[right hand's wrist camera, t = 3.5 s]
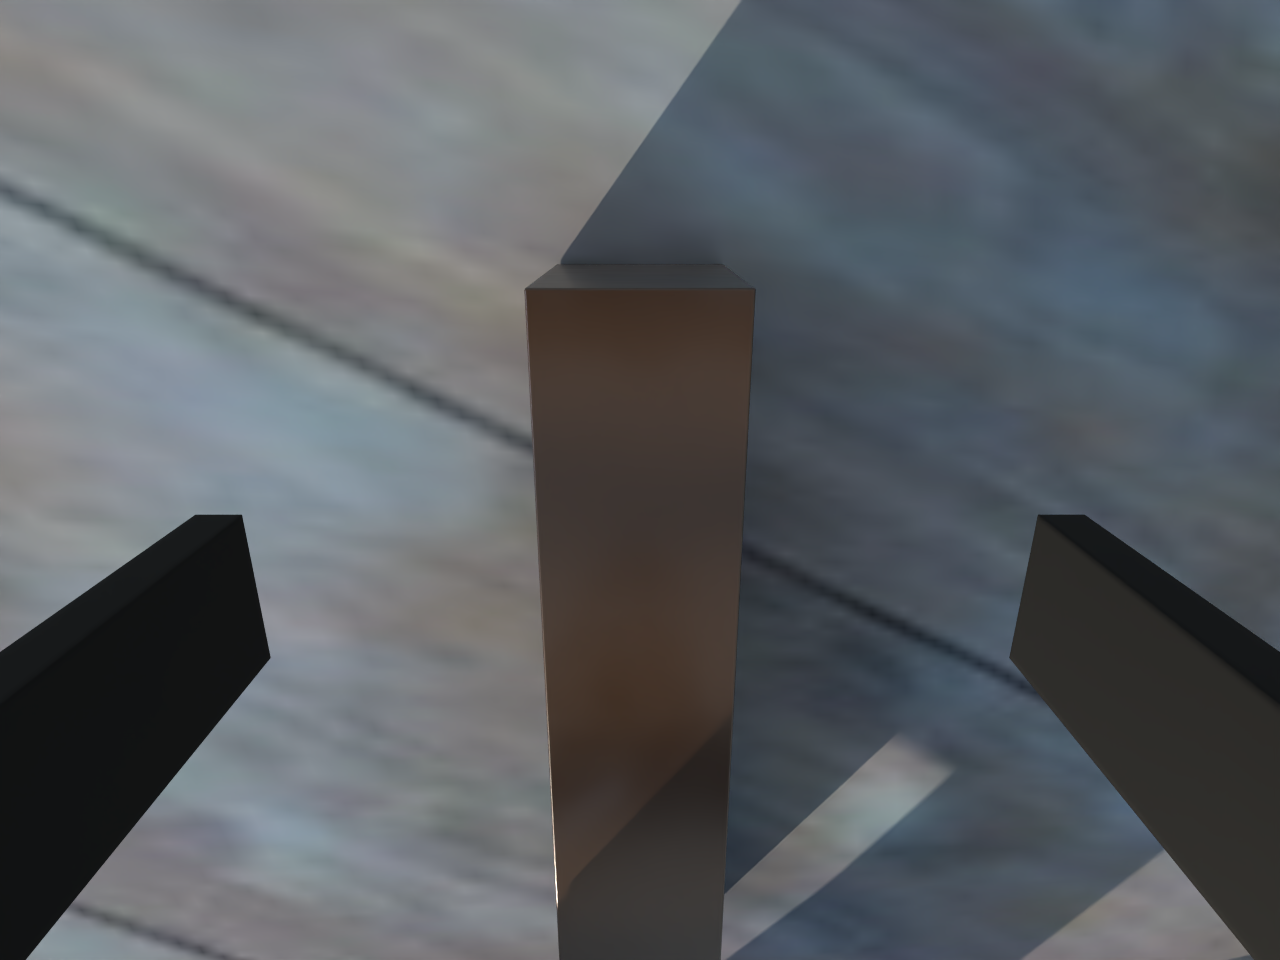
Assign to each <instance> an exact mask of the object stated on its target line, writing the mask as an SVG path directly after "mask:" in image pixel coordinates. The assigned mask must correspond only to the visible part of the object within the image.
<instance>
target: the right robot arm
mask: <svg viewBox="0 0 1280 960" xmlns="http://www.w3.org/2000/svg"><path fill="white" fill-rule="evenodd" d="M269 659H270V653H269V648H268V643H267V638H266V633H265V628H264V623H263V618H262V613H261V608H260V603H259V598H258V593H257V588H256V583H255V578H254V573H253V568H252V563H251V558H250V553H249V548H248V543H247V538H246V533H245V528H244V523H243V518H242V515H194V516H193V517H192V518H190V519H189V520H187V521H186V522H185V523H183V524H182V525H180V526H179V527H177V528H176V529H175V530H173V531H172V532H170V533H169V534H167V535H166V536H165V537H163V538H162V539H160V540H159V541H157V542H156V543H155V544H153V545H152V546H150V547H149V548H148V549H146V550H145V551H143V552H142V553H140V554H139V555H138V556H136V557H135V558H133V559H132V560H130V561H129V562H128V563H126V564H125V565H123V566H122V567H120V568H119V569H118V570H116V571H115V572H113V573H112V574H111V575H109V576H108V577H106V578H105V579H103V580H102V581H101V582H99V583H98V584H96V585H95V586H93V587H92V588H91V589H89V590H88V591H86V592H85V593H83V594H82V595H81V596H79V597H78V598H76V599H75V600H74V601H72V602H71V603H69V604H68V605H66V606H65V607H64V608H62V609H61V610H59V611H58V612H56V613H55V614H54V615H52V616H51V617H49V618H48V619H47V620H45V621H44V622H42V623H41V624H39V625H38V626H37V627H35V628H34V629H32V630H31V631H29V632H28V633H27V634H25V635H24V636H22V637H21V638H19V639H18V640H17V641H15V642H14V643H12V644H11V645H10V646H8V647H7V648H5V649H4V650H2V651H1V652H0V960H26V959H27V957H28V956H29V955H30V954H31V953H32V951H33V950H34V949H35V948H36V946H37V945H38V944H39V943H40V941H41V940H42V939H43V938H44V937H45V935H46V934H47V933H48V932H49V930H50V929H51V928H52V927H53V925H54V924H55V923H56V922H57V921H58V919H59V918H60V917H61V916H62V914H63V913H64V912H65V911H66V909H67V908H68V907H69V906H70V904H71V903H72V902H73V901H74V900H75V898H76V897H77V896H78V895H79V893H80V892H81V891H82V890H83V888H84V887H85V886H86V885H87V884H88V882H89V881H90V880H91V879H92V877H93V876H94V875H95V874H96V872H97V871H98V870H99V869H100V867H101V866H102V865H103V864H104V863H105V861H106V860H107V859H108V858H109V856H110V855H111V854H112V853H113V851H114V850H115V849H116V848H117V847H118V845H119V844H120V843H121V842H122V840H123V839H124V838H125V837H126V835H127V834H128V833H129V832H130V831H131V829H132V828H133V827H134V826H135V824H136V823H137V822H138V821H139V819H140V818H141V817H142V816H143V814H144V813H145V812H146V811H147V810H148V808H149V807H150V806H151V805H152V803H153V802H154V801H155V800H156V798H157V797H158V796H159V795H160V794H161V792H162V791H163V790H164V789H165V787H166V786H167V785H168V784H169V782H170V781H171V780H172V779H173V777H174V776H175V775H176V774H177V773H178V771H179V770H180V769H181V768H182V766H183V765H184V764H185V763H186V761H187V760H188V759H189V758H190V757H191V755H192V754H193V753H194V752H195V750H196V749H197V748H198V747H199V745H200V744H201V743H202V742H203V741H204V739H205V738H206V737H207V736H208V734H209V733H210V732H211V731H212V729H213V728H214V727H215V726H216V724H217V723H218V722H219V721H220V720H221V718H222V717H223V716H224V715H225V713H226V712H227V711H228V710H229V708H230V707H231V706H232V705H233V704H234V702H235V701H236V700H237V699H238V697H239V696H240V695H241V694H242V692H243V691H244V690H245V689H246V687H247V686H248V685H249V684H250V683H251V681H252V680H253V679H254V678H255V676H256V675H257V674H258V673H259V671H260V670H261V669H262V668H263V667H264V665H265V664H266V663H267V662H268V660H269ZM1010 659H1011V660H1012V662H1013V663H1014V664H1015V665H1016V667H1017V668H1018V669H1019V670H1020V671H1021V673H1022V674H1023V675H1024V676H1025V678H1026V679H1027V680H1028V681H1029V683H1030V684H1031V685H1032V686H1033V688H1034V689H1035V690H1036V691H1037V692H1038V694H1039V695H1040V696H1041V697H1042V699H1043V700H1044V701H1045V702H1046V704H1047V705H1048V706H1049V707H1050V708H1051V710H1052V711H1053V712H1054V713H1055V715H1056V716H1057V717H1058V718H1059V720H1060V721H1061V722H1062V723H1063V724H1064V726H1065V727H1066V728H1067V729H1068V731H1069V732H1070V733H1071V734H1072V736H1073V737H1074V738H1075V739H1076V741H1077V742H1078V743H1079V744H1080V745H1081V747H1082V748H1083V749H1084V750H1085V752H1086V753H1087V754H1088V755H1089V757H1090V758H1091V759H1092V760H1093V761H1094V763H1095V764H1096V765H1097V766H1098V768H1099V769H1100V770H1101V771H1102V773H1103V774H1104V775H1105V776H1106V777H1107V779H1108V780H1109V781H1110V782H1111V784H1112V785H1113V786H1114V787H1115V789H1116V790H1117V791H1118V792H1119V794H1120V795H1121V796H1122V797H1123V798H1124V800H1125V801H1126V802H1127V803H1128V805H1129V806H1130V807H1131V808H1132V810H1133V811H1134V812H1135V813H1136V814H1137V816H1138V817H1139V818H1140V819H1141V821H1142V822H1143V823H1144V824H1145V826H1146V827H1147V828H1148V829H1149V831H1150V832H1151V833H1152V834H1153V835H1154V837H1155V838H1156V839H1157V840H1158V842H1159V843H1160V844H1161V845H1162V847H1163V848H1164V849H1165V850H1166V851H1167V853H1168V854H1169V855H1170V856H1171V858H1172V859H1173V860H1174V861H1175V863H1176V864H1177V865H1178V866H1179V867H1180V869H1181V870H1182V871H1183V872H1184V874H1185V875H1186V876H1187V877H1188V879H1189V880H1190V881H1191V882H1192V884H1193V885H1194V886H1195V887H1196V888H1197V890H1198V891H1199V892H1200V893H1201V895H1202V896H1203V897H1204V898H1205V900H1206V901H1207V902H1208V903H1209V904H1210V906H1211V907H1212V908H1213V909H1214V911H1215V912H1216V913H1217V914H1218V916H1219V917H1220V918H1221V919H1222V921H1223V922H1224V923H1225V924H1226V925H1227V927H1228V928H1229V929H1230V930H1231V932H1232V933H1233V934H1234V935H1235V937H1236V938H1237V939H1238V940H1239V941H1240V943H1241V944H1242V945H1243V946H1244V948H1245V949H1246V950H1247V951H1248V953H1249V954H1250V955H1251V956H1252V957H1253V959H1254V960H1280V652H1279V651H1278V650H1276V649H1275V648H1273V647H1272V646H1270V645H1269V644H1268V643H1266V642H1265V641H1263V640H1262V639H1261V638H1259V637H1258V636H1256V635H1255V634H1253V633H1252V632H1251V631H1249V630H1248V629H1246V628H1245V627H1243V626H1242V625H1241V624H1239V623H1238V622H1236V621H1235V620H1233V619H1232V618H1231V617H1229V616H1228V615H1226V614H1225V613H1224V612H1222V611H1221V610H1219V609H1218V608H1216V607H1215V606H1214V605H1212V604H1211V603H1209V602H1208V601H1206V600H1205V599H1204V598H1202V597H1201V596H1199V595H1198V594H1197V593H1195V592H1194V591H1192V590H1191V589H1189V588H1188V587H1187V586H1185V585H1184V584H1182V583H1181V582H1179V581H1178V580H1177V579H1175V578H1174V577H1172V576H1171V575H1169V574H1168V573H1167V572H1165V571H1164V570H1162V569H1161V568H1160V567H1158V566H1157V565H1155V564H1154V563H1152V562H1151V561H1150V560H1148V559H1147V558H1145V557H1144V556H1142V555H1141V554H1140V553H1138V552H1137V551H1135V550H1134V549H1132V548H1131V547H1130V546H1128V545H1127V544H1125V543H1124V542H1123V541H1121V540H1120V539H1118V538H1117V537H1115V536H1114V535H1113V534H1111V533H1110V532H1108V531H1107V530H1105V529H1104V528H1103V527H1101V526H1100V525H1098V524H1097V523H1095V522H1094V521H1093V520H1091V519H1090V518H1088V517H1087V516H1086V515H1038V518H1037V523H1036V528H1035V533H1034V538H1033V543H1032V548H1031V553H1030V558H1029V563H1028V568H1027V573H1026V578H1025V583H1024V588H1023V593H1022V598H1021V603H1020V608H1019V613H1018V618H1017V623H1016V628H1015V633H1014V638H1013V643H1012V648H1011V653H1010Z"/></svg>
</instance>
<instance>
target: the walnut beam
mask: <svg viewBox="0 0 1280 960" xmlns="http://www.w3.org/2000/svg"><path fill="white" fill-rule="evenodd" d="M525 309H526V328H527V348H528V367H529V386H530V405H531V424H532V443H533V463H534V482H535V501H536V520H537V539H538V558H539V578H540V597H541V616H542V635H543V654H544V674H545V693H546V712H547V731H548V750H549V769H550V789H551V808H552V827H553V846H554V865H555V884H556V904H557V923H558V942H559V960H721V942H722V923H723V904H724V885H725V865H726V846H727V827H728V808H729V789H730V770H731V750H732V731H733V712H734V693H735V674H736V655H737V635H738V616H739V597H740V578H741V559H742V540H743V520H744V501H745V482H746V463H747V444H748V424H749V405H750V386H751V367H752V348H753V329H754V309H755V288H753V287H752V286H751V285H749V284H748V283H747V282H745V281H744V280H743V279H741V278H740V277H739V276H737V275H736V274H735V273H733V272H732V271H731V270H729V269H728V268H727V267H725V266H724V265H722V264H558V265H556V266H555V267H553V268H552V269H551V270H549V271H548V272H547V273H545V274H544V275H543V276H541V277H540V278H539V279H537V280H536V281H535V282H533V283H532V284H531V285H529V286H528V287H527V288H525Z"/></svg>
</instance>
